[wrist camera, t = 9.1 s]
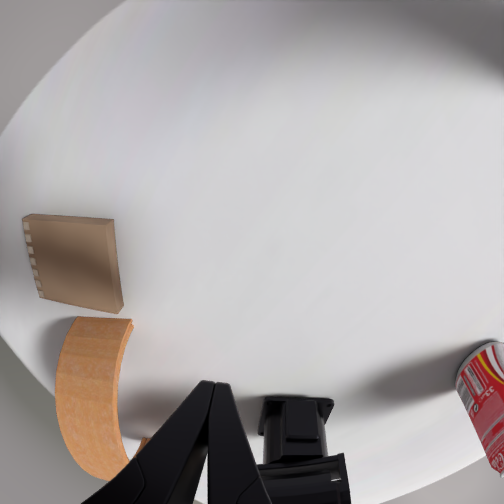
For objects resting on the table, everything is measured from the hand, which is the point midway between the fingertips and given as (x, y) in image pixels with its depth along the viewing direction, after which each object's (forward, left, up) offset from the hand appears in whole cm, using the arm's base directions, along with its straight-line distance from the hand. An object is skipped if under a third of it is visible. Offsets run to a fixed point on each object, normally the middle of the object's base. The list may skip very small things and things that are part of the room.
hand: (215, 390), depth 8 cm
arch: (-18, +10, -12) cm, 24 cm away
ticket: (-3, +13, -12) cm, 18 cm away
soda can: (-11, -25, -12) cm, 30 cm away
